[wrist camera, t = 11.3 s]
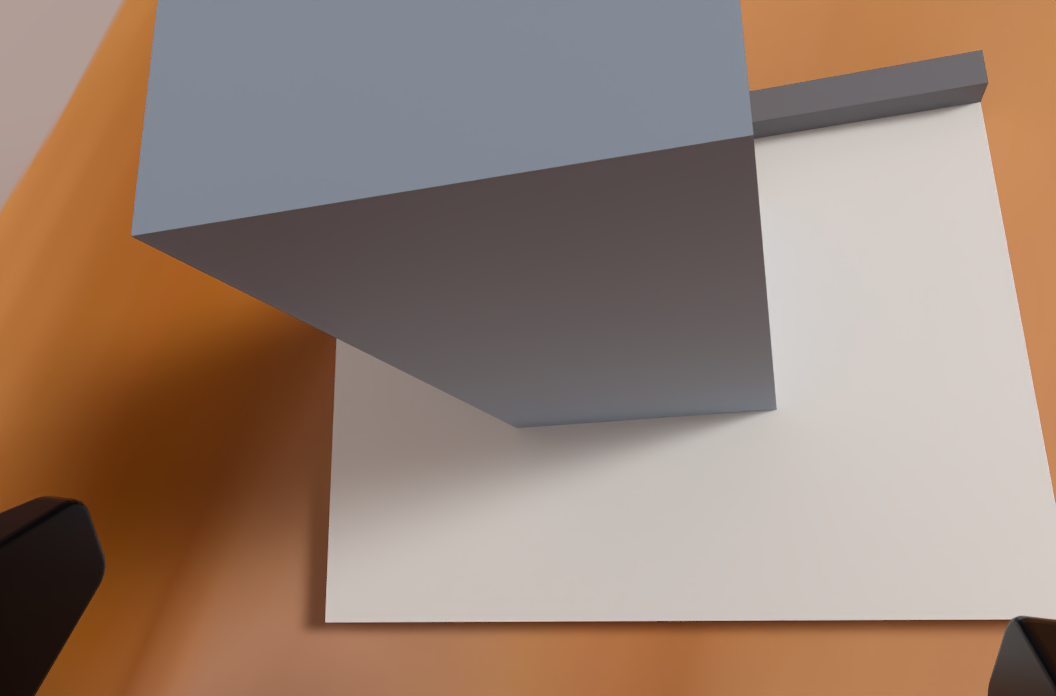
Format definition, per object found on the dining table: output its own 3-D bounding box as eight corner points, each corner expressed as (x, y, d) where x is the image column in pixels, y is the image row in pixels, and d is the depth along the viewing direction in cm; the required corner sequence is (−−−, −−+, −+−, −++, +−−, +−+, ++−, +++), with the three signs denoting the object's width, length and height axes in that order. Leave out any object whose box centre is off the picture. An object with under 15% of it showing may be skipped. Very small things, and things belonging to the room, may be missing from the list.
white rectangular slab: (1060, 616, 16) (1091, 621, 15) (345, 619, 21) (307, 624, 19) (964, 86, 20) (981, 41, 18) (360, 188, 24) (328, 160, 22)
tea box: (776, 409, 18) (752, 134, 6) (516, 427, 20) (130, 235, 8) (754, 188, 19) (703, -362, 8) (513, 223, 21) (179, -188, 10)
